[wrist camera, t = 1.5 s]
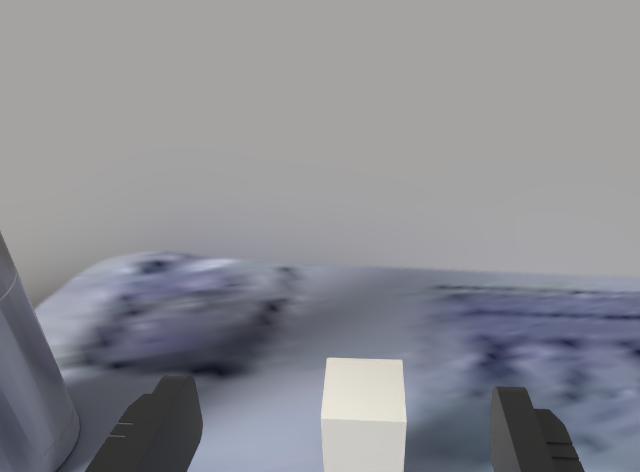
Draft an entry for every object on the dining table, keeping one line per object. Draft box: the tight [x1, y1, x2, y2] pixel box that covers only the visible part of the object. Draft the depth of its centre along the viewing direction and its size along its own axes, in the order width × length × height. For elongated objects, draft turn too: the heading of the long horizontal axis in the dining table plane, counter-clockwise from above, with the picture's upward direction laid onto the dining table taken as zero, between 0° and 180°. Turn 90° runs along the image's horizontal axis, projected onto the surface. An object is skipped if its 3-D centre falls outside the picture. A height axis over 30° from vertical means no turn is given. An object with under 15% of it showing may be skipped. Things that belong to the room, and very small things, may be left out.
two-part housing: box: [321, 358, 407, 472], centre depth 31 cm, size 4×4×10 cm
